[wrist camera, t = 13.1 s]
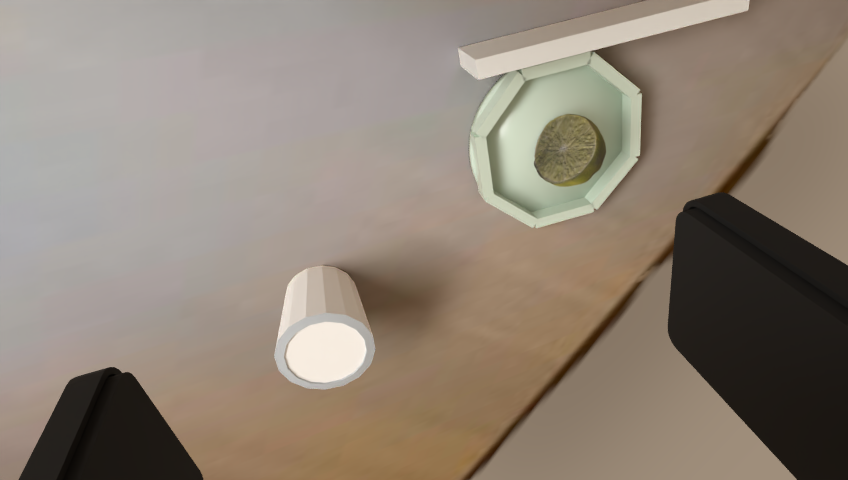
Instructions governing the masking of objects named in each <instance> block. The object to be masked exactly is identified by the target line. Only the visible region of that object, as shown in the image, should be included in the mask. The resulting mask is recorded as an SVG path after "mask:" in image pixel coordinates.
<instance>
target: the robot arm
mask: <svg viewBox="0 0 848 480" xmlns="http://www.w3.org/2000/svg"><path fill="white" fill-rule="evenodd" d="M668 333H669V337H670V339H671V341H672V343H673V345H674V346H675V347H676V349H677V350H678V351H679V352H680V353H681V354H682V355H683V356H684V357H685V358H686V360H687V361H688V362H689V363H690V364H691V365H692V366H693V367H694V368H695V369H696V370H697V372H699V374H700V375H701V376H702V377H703V378H704V379H705V380H706V381H707V382H708V383H709V385H710V386H711V387H712V388H713V389H714V390H715V391H716V392H717V393H718V394H719V395H720V396H721V397H722V398H723V400H724V401H725V402H726V403H727V404H728V405H729V406H730V407H731V408H732V409H733V410H734V412H735V413H736V414H737V415H738V416H739V417H740V418H741V419H742V420H743V421H744V422H745V424H747V426H748V427H749V428H750V429H751V430H752V431H753V432H754V433H755V434H756V435H757V436H758V438H759V439H760V440H761V441H762V442H763V443H764V444H765V445H766V446H767V447H768V448H769V450H770V451H771V452H772V453H773V454H774V455H775V456H776V457H777V458H778V459H779V460H780V461H781V463H782V464H783V465H784V466H785V467H786V468H787V469H788V470H789V471H790V472H791V473H792V474H793V475H794V477H795V478H796V479H797V480H848V265H846V264H844V263H843V262H841V261H839V260H838V259H836V258H834V257H833V256H831V255H829V254H828V253H826V252H824V251H823V250H821V249H819V248H818V247H816V246H814V245H813V244H811V243H809V242H808V241H806V240H804V239H802V238H801V237H799V236H798V235H796V234H794V233H793V232H791V231H789V230H788V229H786V228H784V227H782V226H781V225H779V224H778V223H776V222H774V221H772V220H771V219H769V218H767V217H766V216H764V215H762V214H761V213H759V212H757V211H755V210H754V209H752V208H751V207H749V206H747V205H746V204H744V203H742V202H741V201H739V200H737V199H736V198H734V197H732V196H731V195H729V194H726V193H724V192H723V193H716V194H712V195H709V196H705V197H702V198H698V199H695V200H691V201H689V202H687V203H686V204H685V206H684V208H683V212H681V213H679V214H678V216H677V218H676V226H675V239H674V252H673V265H672V279H671V291H670V304H669V318H668ZM19 480H203V477H202V474H201V472H200V470H199V469H198V467H197V466H196V464H195V463H194V461H193V460H192V459H191V457H190V456H189V454H188V453H187V451H186V450H185V448H184V447H183V446H182V444H181V443H180V441H179V440H178V438H177V437H176V436H175V434H174V433H173V431H172V430H171V428H170V427H169V425H168V424H167V423H166V421H165V420H164V418H163V417H162V415H161V414H160V412H159V411H158V410H157V408H156V407H155V405H154V404H153V402H152V401H151V400H150V398H149V397H148V395H147V394H146V392H145V391H144V389H143V388H142V387H141V385H140V384H139V382H138V381H137V379H136V378H135V377H134V376H133V375H132V374H131V373H129V372H125V373H122V372H121V371H120V370H119V369H117V368H115V367H109V368H105V369H102V370H98V371H95V372H92V373H88V374H85V375H81V376H78V377H75V378H73V379H71V380H70V381H69V383H68V384H67V385H66V387H65V389H64V391H63V393H62V395H61V397H60V399H59V401H58V403H57V405H56V407H55V409H54V411H53V413H52V415H51V417H50V419H49V421H48V423H47V425H46V427H45V429H44V431H43V433H42V435H41V437H40V439H39V441H38V443H37V444H36V446H35V448H34V450H33V452H32V454H31V456H30V458H29V460H28V462H27V464H26V466H25V468H24V470H23V472H22V474H21V476H20V478H19Z"/></svg>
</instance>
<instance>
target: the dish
mask: <svg viewBox="0 0 848 480" xmlns="http://www.w3.org/2000/svg"><path fill="white" fill-rule="evenodd" d="M639 91H640V89H639V88H638V87H636V86H635V85H634V84H633V83H631V82H630V81H629V80H628V79H627V78H625V77H624V76H623V75H622V74H620V73H619V72H618V71H617V70H616V69H614V68H613V67H612V66H611V65H610V64H608V63H607V62H606V61H604V60H603V59H602V58H601V57H600V56H598V55H597V54H596V53H595V52H592V51H589V52H585V53H581V54H577V55H573V56H569V57H565V58H562V59H558V60H554V61H550V62H546V63H542V64H538V65H534V66H530V67H527V68H523V69H519V70H515V71H511V72H507V73H505V74H504V75H503V76H502V77H501V78H500V79H499V80H498V81H497V82H496V83H495V84H494V85H493V86H492V88H491V89H490V90H489V92H488V93H487V94H486V96H485V97H484V99H483V101H482V102H481V104H480V106H479V108H478V110H477V113H476V115H475V117H474V120H473V124H472V127H471V132H470V137H469V160H470V165H471V169H472V173H473V175H474V178H475V180H476V182H477V184H478V190H479V193H480V194H481V196H482V197H483V199H484V200H485V201H486V202H487V203H489V204H491V205H493V206H494V207H496V208H498V209H500V210H501V211H503V212H505V213H507V214H509V215H510V216H512V217H514V218H516V219H517V220H519V221H521V222H523V223H525V224H526V225H528V226H530V227H532V228H533V227H534V226H535V227H536V228H539V227H543V226H546V225H550V224H553V223H557V222H560V221H564V220H567V219H571V218H574V217H578V216H581V215H585V214H589V213H592V212H594V208H595V209H598V208H599V207H600V206H601V204H602V203H603V202H604V201H605V200H606V198H607V197H608V196H609V195H610V193H611V192H612V191H613V190H614V189H615V187H616V186H617V185H618V184H619V182H620V181H621V180H622V179H623V178H624V176H625V175H626V174H627V173H628V171H629V170H630V169H631V168H632V167H633V165H634V164H635V163H636V162H637V160H638V159H637V158H636V156H640V138H641V106H642V93H640V92H639ZM566 114H575V115H580V116H584V117H586V118H588V119H589V120H591V121H592V122H593V123H594V124H595V125H596V126H597V127H598V129H599V131H600V133H601V134H602V136H603V139H604V141H605V145H606V155H605V158H604V160H603V164H602V166H601V168H600V170H599V171H597V172H596V173H595V174H594V175H593V176H592V177H591V179H590V180H588V181H587V182H585V183H583V184H579V185H574V186H568V187H560V186H556V185H553V184H551V183H549V182H547V181H545V180H544V179H543V178H541V177H540V176H539V174H538V173H537V170H536V168H535V166H534V161H535V158H534V155H535V147H536V144H537V140H538V138H539V136H540V134H541V132H542V131H543V129H544V127H545V126H546V125H547V124H548V123H549V122H550V121H551V120H553V119H554V118H556V117H559V116H562V115H566Z"/></svg>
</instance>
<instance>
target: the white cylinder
mask: <svg viewBox="0 0 848 480" xmlns="http://www.w3.org/2000/svg"><path fill="white" fill-rule="evenodd" d="M375 350H376V349H375V344H374V339H373V335H372V332H371V329H370V326H369V323H368V320H367V317H366V314H365V311H364V308H363V305H362V302H361V299H360V297H359V294H358V291H357V288H356V285H355V282H354V281H353V280H352V279H351V277H350V276H349V275H348V274H347V273H346V272H344V271H342V270H340V269H338V268H336V267H331V266H323V265H321V266H316V267H311V268H307V269H305V270H303V271H302V272H300V273H298V274H297V275H295V277H294V278H293V279H292V280H291V282H290V283H289V284H288V287H287V291H286V296H285V301H284V307H283V312H282V318H281V323H280V328H279V334H278V339H277V344H276V350H275V355H274V357H275V360H276V363H277V366H278V369H279V371H280V372H281V373H282V374H283V375H284V376H285V377H286V378H287V379H288V380H289V381H290V382H292V383H295V384H297V385H300V386H303V387H305V388H311V389H330V388H334V387H339V386H343V385H346V384H347V383H349V382H351V381H353V380H354V379H356V378H358V377H360V376H361V375H362V373H363V372H364V371H365V370H366V369H367V368H368V367H369V366H370V364H371V362H372V359H373V356H374V353H375Z"/></svg>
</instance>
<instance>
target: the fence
mask: <svg viewBox="0 0 848 480" xmlns="http://www.w3.org/2000/svg"><path fill="white" fill-rule="evenodd" d="M749 1H750V0H646V1H642V2H638V3H634V4H630V5H626V6H622V7H618V8H614V9H610V10H606V11H602V12H598V13H594V14H590V15H586V16H582V17H578V18H574V19H570V20H566V21H562V22H558V23H554V24H550V25H547V26H543V27H539V28H535V29H531V30H527V31H523V32H519V33H515V34H511V35H507V36H503V37H499V38H495V39H491V40H487V41H483V42H479V43H475V44H471V45H467V46H463V47H459V48H458V52H459V59H460V66H461V67H462V68H464V69H465V70H466V71H467V72H469V73H470V74H471V75H473V76H474V77H475V78H476V79H478V80H480V79H484V78H488V77H492V76H495V75H499V74H503V73H507V72H511V71H515V70H519V69H523V68H527V67H530V66H534V65H538V64H542V63H546V62H550V61H554V60H558V59H562V58H565V57H569V56H573V55H577V54H581V53H585V52H589V51H593V50H597V49H600V48H604V47H608V46H612V45H616V44H620V43H624V42H628V41H632V40H635V39H639V38H643V37H647V36H651V35H655V34H659V33H663V32H667V31H670V30H674V29H678V28H682V27H686V26H690V25H694V24H698V23H702V22H705V21H709V20H713V19H717V18H721V17H725V16H729V15H733V14H737V13H740V12H744V11H748V8H749Z"/></svg>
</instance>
